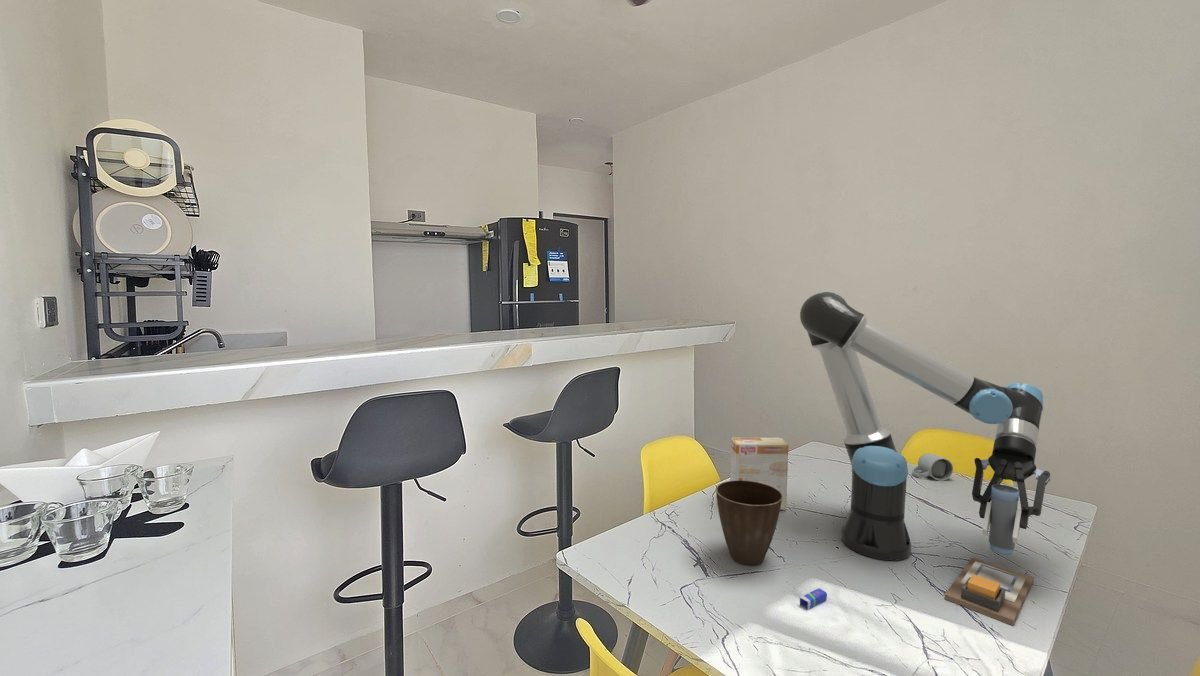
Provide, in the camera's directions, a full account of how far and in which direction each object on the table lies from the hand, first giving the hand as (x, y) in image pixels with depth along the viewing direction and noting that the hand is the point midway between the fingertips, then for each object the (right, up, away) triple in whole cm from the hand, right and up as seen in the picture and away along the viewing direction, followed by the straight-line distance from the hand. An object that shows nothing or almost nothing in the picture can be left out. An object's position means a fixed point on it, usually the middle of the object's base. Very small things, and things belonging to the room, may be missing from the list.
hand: (999, 536), depth 106 cm
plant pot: (-50, -10, +13) cm, 53 cm away
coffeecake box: (-38, -7, +42) cm, 57 cm away
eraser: (-42, -12, -5) cm, 43 cm away
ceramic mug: (+28, -5, +64) cm, 70 cm away
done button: (-7, -9, -5) cm, 13 cm away
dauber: (+3, -4, +3) cm, 6 cm away
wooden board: (-2, -11, 0) cm, 11 cm away
